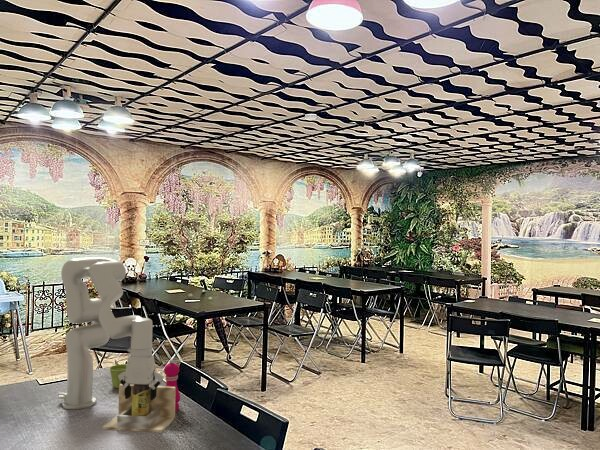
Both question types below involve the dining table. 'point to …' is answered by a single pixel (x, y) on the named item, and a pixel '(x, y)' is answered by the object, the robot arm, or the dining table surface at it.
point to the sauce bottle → (140, 400)
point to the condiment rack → (155, 420)
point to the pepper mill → (172, 379)
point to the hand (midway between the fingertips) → (140, 398)
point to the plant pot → (115, 372)
